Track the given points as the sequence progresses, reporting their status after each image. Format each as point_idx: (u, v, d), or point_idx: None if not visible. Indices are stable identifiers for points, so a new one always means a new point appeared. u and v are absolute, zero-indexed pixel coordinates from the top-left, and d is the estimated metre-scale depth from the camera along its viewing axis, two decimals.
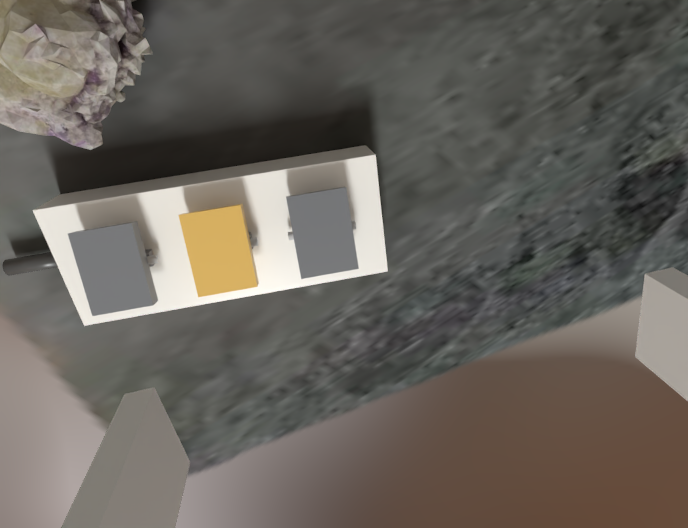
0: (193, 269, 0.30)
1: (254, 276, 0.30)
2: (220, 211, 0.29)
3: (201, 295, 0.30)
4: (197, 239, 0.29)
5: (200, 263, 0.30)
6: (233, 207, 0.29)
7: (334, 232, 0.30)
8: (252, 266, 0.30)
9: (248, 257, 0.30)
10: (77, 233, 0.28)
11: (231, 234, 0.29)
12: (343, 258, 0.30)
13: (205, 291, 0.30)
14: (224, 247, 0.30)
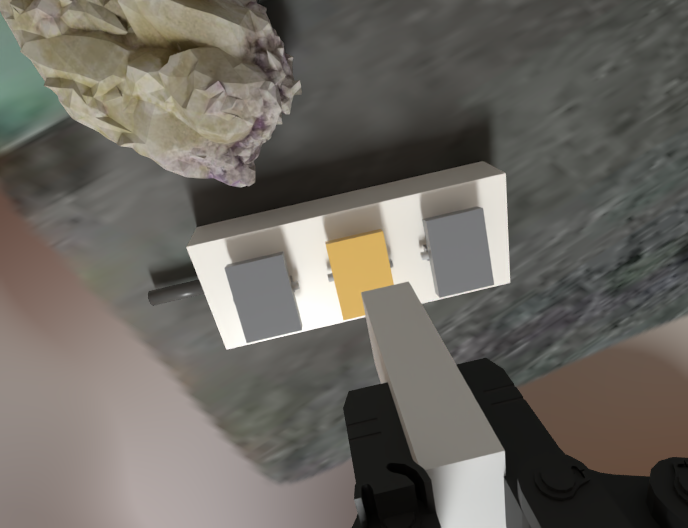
0: (339, 294, 0.31)
1: None
2: (364, 238, 0.30)
3: (346, 318, 0.32)
4: (343, 266, 0.31)
5: (345, 288, 0.31)
6: (376, 234, 0.30)
7: (471, 251, 0.31)
8: None
9: (390, 280, 0.31)
10: (233, 267, 0.30)
11: (374, 259, 0.31)
12: (479, 275, 0.32)
13: (350, 314, 0.32)
14: (368, 271, 0.31)
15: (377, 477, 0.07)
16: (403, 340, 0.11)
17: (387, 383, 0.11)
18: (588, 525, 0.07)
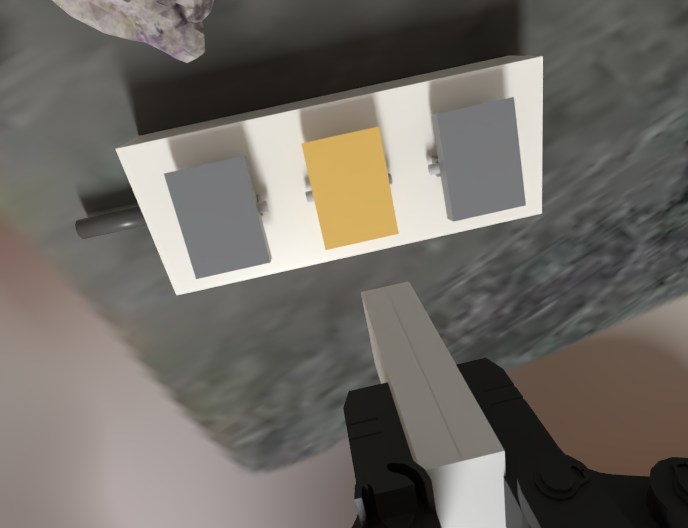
0: (319, 214, 0.23)
1: (395, 220, 0.24)
2: (353, 136, 0.23)
3: (329, 247, 0.24)
4: (324, 174, 0.23)
5: (328, 206, 0.23)
6: (370, 130, 0.23)
7: (496, 158, 0.23)
8: (392, 207, 0.24)
9: (388, 196, 0.23)
10: (175, 172, 0.22)
11: (367, 165, 0.23)
12: (507, 192, 0.24)
13: (334, 241, 0.24)
14: (358, 183, 0.23)
15: (377, 477, 0.07)
16: (403, 340, 0.11)
17: (387, 383, 0.11)
18: (588, 525, 0.07)
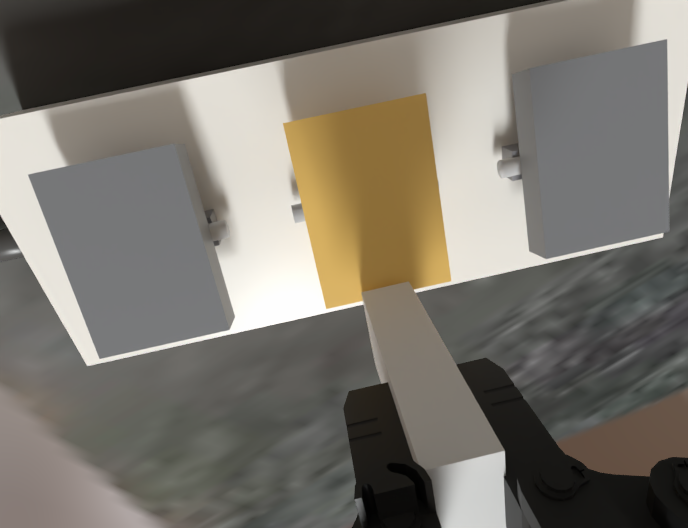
0: (316, 249, 0.13)
1: (446, 259, 0.14)
2: (379, 111, 0.12)
3: (332, 304, 0.14)
4: (326, 180, 0.13)
5: (331, 235, 0.13)
6: (409, 100, 0.12)
7: (628, 150, 0.13)
8: (443, 237, 0.14)
9: (437, 218, 0.13)
10: (51, 173, 0.12)
11: (401, 164, 0.13)
12: (640, 209, 0.14)
13: (342, 295, 0.14)
14: (386, 196, 0.13)
15: (377, 477, 0.07)
16: (403, 340, 0.11)
17: (387, 383, 0.11)
18: (588, 525, 0.07)
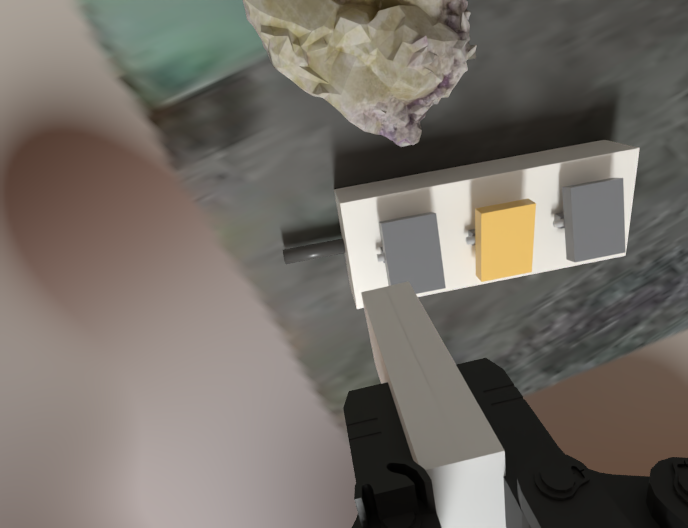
0: (482, 259, 0.33)
1: (531, 263, 0.34)
2: (517, 209, 0.32)
3: (484, 280, 0.34)
4: (492, 234, 0.32)
5: (489, 254, 0.33)
6: (529, 205, 0.32)
7: (608, 219, 0.33)
8: (531, 255, 0.34)
9: (531, 248, 0.33)
10: (389, 223, 0.32)
11: (521, 228, 0.32)
12: (613, 243, 0.34)
13: (488, 276, 0.34)
14: (513, 240, 0.33)
15: (377, 477, 0.07)
16: (403, 340, 0.11)
17: (387, 383, 0.11)
18: (588, 525, 0.07)
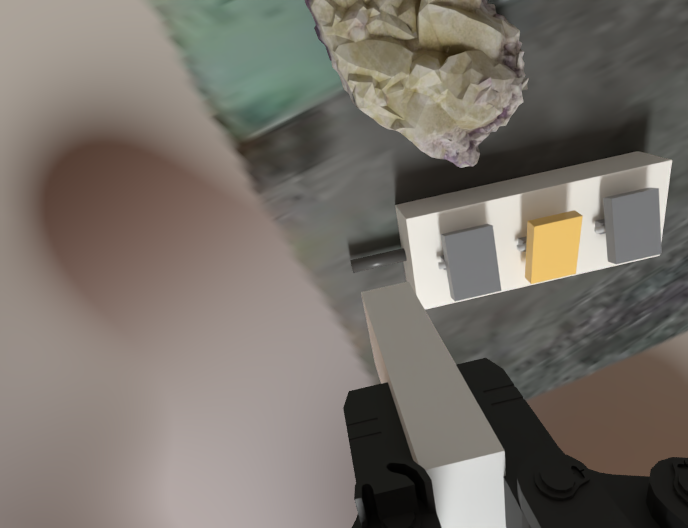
0: (533, 264, 0.37)
1: (575, 266, 0.38)
2: (566, 222, 0.36)
3: (533, 282, 0.38)
4: (543, 243, 0.36)
5: (539, 260, 0.37)
6: (576, 218, 0.36)
7: (645, 225, 0.37)
8: (576, 259, 0.38)
9: (576, 253, 0.37)
10: (451, 235, 0.36)
11: (568, 237, 0.36)
12: (650, 246, 0.37)
13: (537, 279, 0.38)
14: (561, 247, 0.37)
15: (377, 477, 0.07)
16: (403, 340, 0.11)
17: (387, 383, 0.11)
18: (588, 525, 0.07)
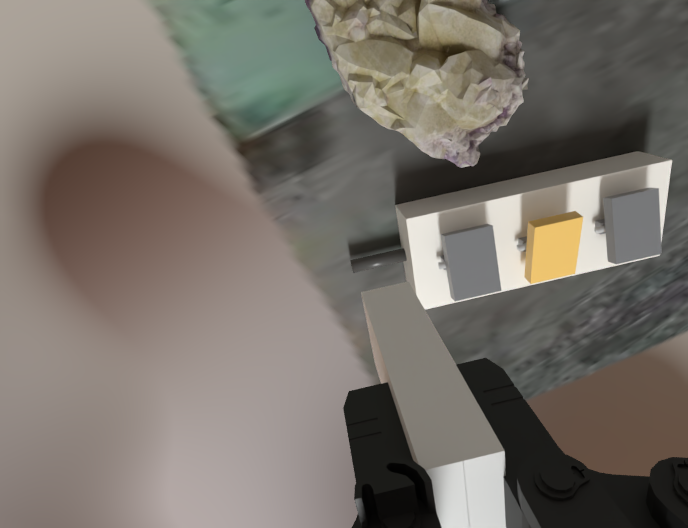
0: (533, 265, 0.37)
1: (575, 266, 0.38)
2: (566, 223, 0.36)
3: (533, 282, 0.38)
4: (543, 244, 0.36)
5: (539, 260, 0.37)
6: (577, 219, 0.36)
7: (645, 225, 0.37)
8: (576, 260, 0.38)
9: (576, 254, 0.37)
10: (451, 235, 0.36)
11: (569, 238, 0.36)
12: (650, 246, 0.37)
13: (537, 279, 0.38)
14: (561, 248, 0.37)
15: (377, 477, 0.07)
16: (403, 340, 0.11)
17: (387, 383, 0.11)
18: (588, 525, 0.07)
